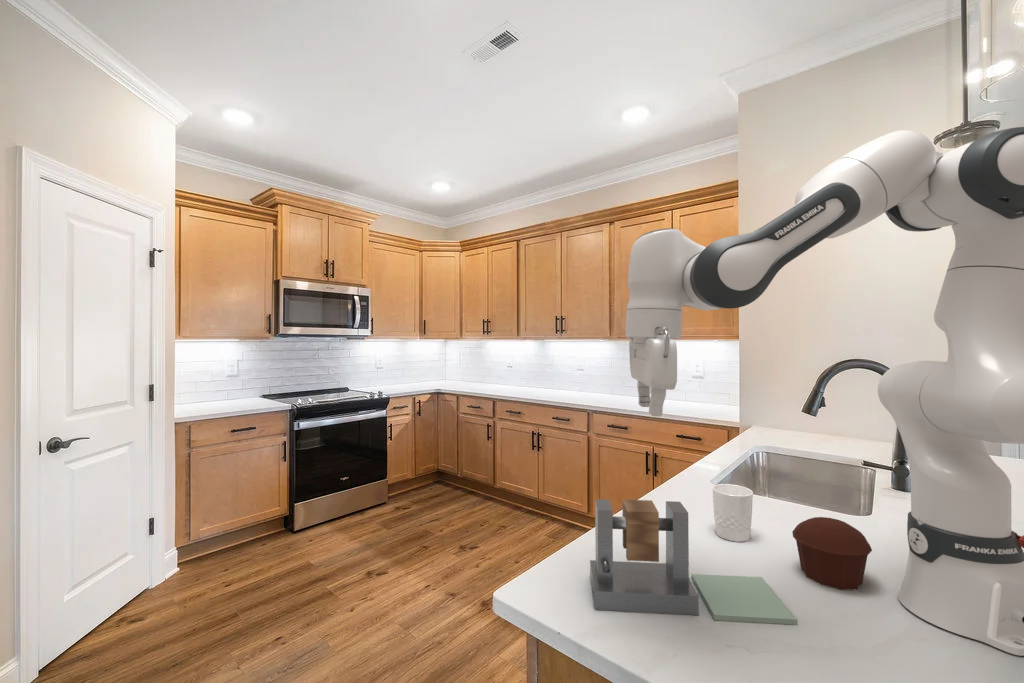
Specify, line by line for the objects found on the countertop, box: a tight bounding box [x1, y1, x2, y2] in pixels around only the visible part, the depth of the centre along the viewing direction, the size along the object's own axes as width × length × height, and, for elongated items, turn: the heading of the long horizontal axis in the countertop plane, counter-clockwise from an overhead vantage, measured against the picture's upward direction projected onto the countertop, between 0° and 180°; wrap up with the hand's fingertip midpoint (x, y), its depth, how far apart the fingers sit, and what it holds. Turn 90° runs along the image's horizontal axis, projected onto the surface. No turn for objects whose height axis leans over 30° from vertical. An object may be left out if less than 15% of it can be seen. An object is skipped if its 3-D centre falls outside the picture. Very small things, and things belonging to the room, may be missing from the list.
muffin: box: [792, 516, 873, 591], centre depth 81 cm, size 12×11×10 cm
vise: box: [589, 498, 700, 616], centre depth 76 cm, size 16×10×15 cm, turn 84°
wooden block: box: [621, 499, 660, 563], centre depth 76 cm, size 5×5×8 cm
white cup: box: [712, 483, 754, 543], centre depth 98 cm, size 8×8×10 cm
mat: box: [690, 573, 799, 626], centre depth 74 cm, size 12×12×1 cm
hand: (649, 410), depth 75 cm, fingers open, 8 cm apart
